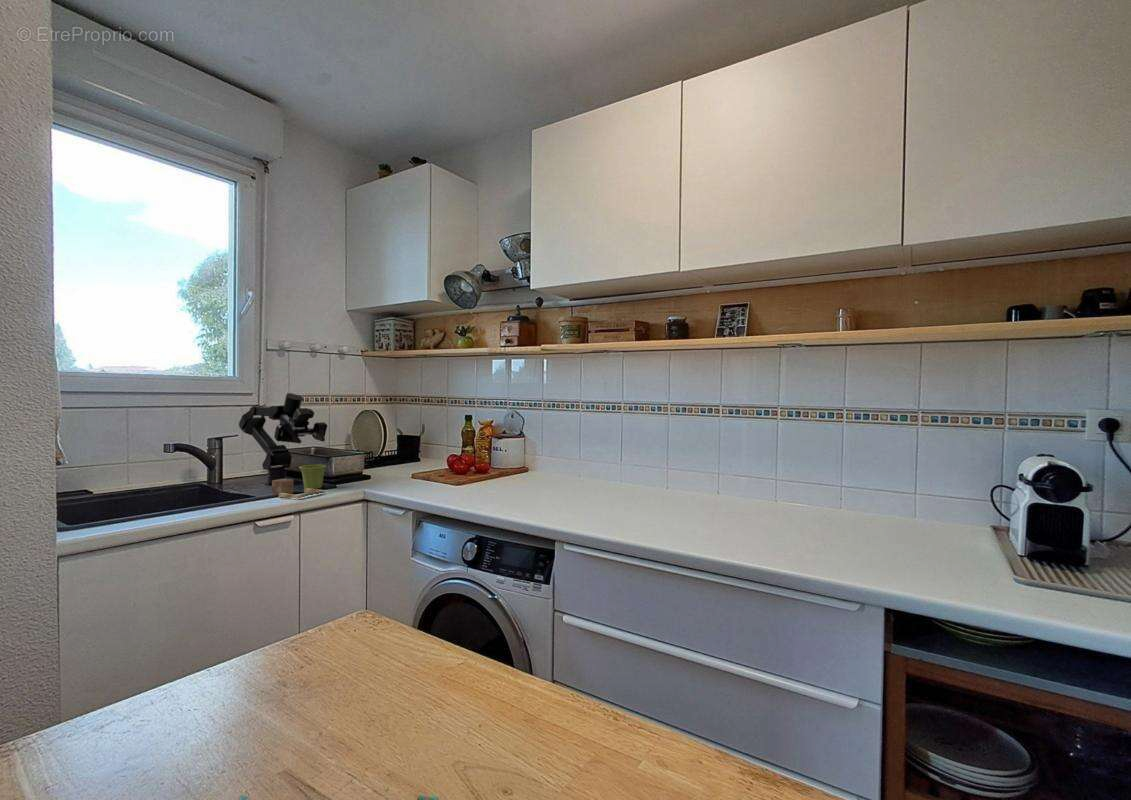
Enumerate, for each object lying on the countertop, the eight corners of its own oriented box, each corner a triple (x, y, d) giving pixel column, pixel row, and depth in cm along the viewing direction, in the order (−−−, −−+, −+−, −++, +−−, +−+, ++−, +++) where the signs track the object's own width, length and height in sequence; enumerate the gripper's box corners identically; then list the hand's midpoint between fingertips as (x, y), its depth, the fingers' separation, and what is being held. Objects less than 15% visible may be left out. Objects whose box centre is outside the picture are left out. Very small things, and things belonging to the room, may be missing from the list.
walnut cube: (272, 494, 187) (271, 480, 187) (284, 491, 192) (284, 478, 192) (281, 495, 185) (280, 481, 185) (293, 493, 190) (293, 479, 190)
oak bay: (278, 497, 181) (278, 493, 181) (306, 491, 191) (306, 487, 191) (297, 500, 177) (297, 495, 177) (324, 494, 187) (324, 490, 187)
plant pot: (300, 487, 201) (299, 465, 200) (326, 485, 204) (326, 463, 204) (298, 491, 192) (298, 468, 192) (326, 489, 196) (326, 467, 196)
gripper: (272, 404, 191) (292, 423, 183) (319, 404, 206) (340, 420, 198) (266, 431, 193) (285, 450, 185) (313, 428, 209) (333, 446, 201)
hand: (312, 441), depth 192 cm, fingers open, 9 cm apart
